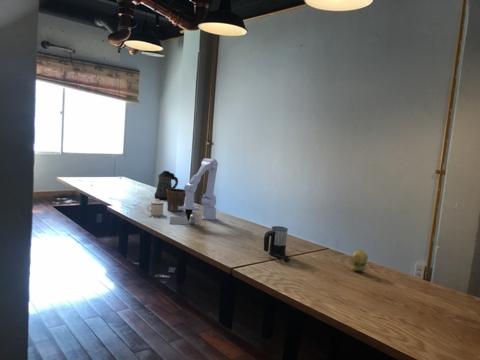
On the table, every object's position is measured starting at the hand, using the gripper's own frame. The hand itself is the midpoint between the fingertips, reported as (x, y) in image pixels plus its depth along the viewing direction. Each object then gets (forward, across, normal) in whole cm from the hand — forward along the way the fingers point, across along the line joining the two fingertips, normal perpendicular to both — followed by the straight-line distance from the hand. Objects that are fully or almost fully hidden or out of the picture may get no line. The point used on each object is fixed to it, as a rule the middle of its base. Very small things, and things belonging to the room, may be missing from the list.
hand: (188, 220), depth 261 cm
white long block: (+1, +2, +3) cm, 4 cm away
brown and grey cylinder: (+2, +3, -6) cm, 6 cm away
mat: (+2, -3, +5) cm, 6 cm away
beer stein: (+2, -22, +88) cm, 91 cm away
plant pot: (+2, -10, +38) cm, 40 cm away
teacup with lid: (+2, -24, +20) cm, 31 cm away
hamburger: (+2, +85, -85) cm, 120 cm away
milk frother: (+2, +50, -66) cm, 83 cm away
